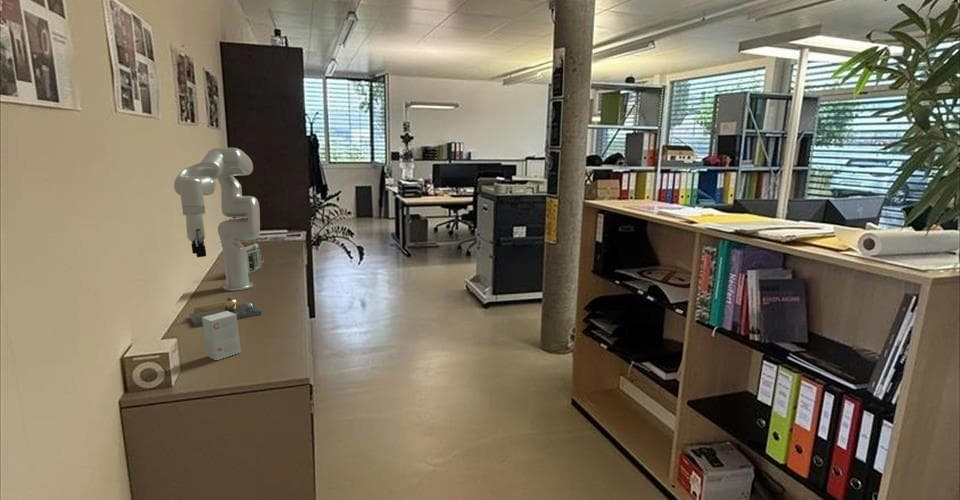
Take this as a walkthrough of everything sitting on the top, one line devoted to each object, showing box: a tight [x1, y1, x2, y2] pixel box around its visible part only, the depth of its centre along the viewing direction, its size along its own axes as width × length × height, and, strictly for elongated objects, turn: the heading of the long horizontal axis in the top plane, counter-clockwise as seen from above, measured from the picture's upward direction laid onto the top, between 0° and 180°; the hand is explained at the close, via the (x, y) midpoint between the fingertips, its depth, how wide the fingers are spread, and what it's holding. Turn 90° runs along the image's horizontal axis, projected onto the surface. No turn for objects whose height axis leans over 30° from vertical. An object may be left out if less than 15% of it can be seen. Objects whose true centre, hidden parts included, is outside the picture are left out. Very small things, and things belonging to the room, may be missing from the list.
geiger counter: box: [244, 243, 265, 274], centre depth 275 cm, size 14×6×25 cm
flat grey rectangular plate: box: [188, 301, 262, 328], centre depth 204 cm, size 14×23×4 cm, turn 126°
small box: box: [202, 311, 242, 361], centre depth 165 cm, size 8×6×13 cm
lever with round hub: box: [192, 297, 238, 314], centre depth 204 cm, size 4×15×4 cm, turn 126°
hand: (199, 254), depth 203 cm, fingers open, 9 cm apart
